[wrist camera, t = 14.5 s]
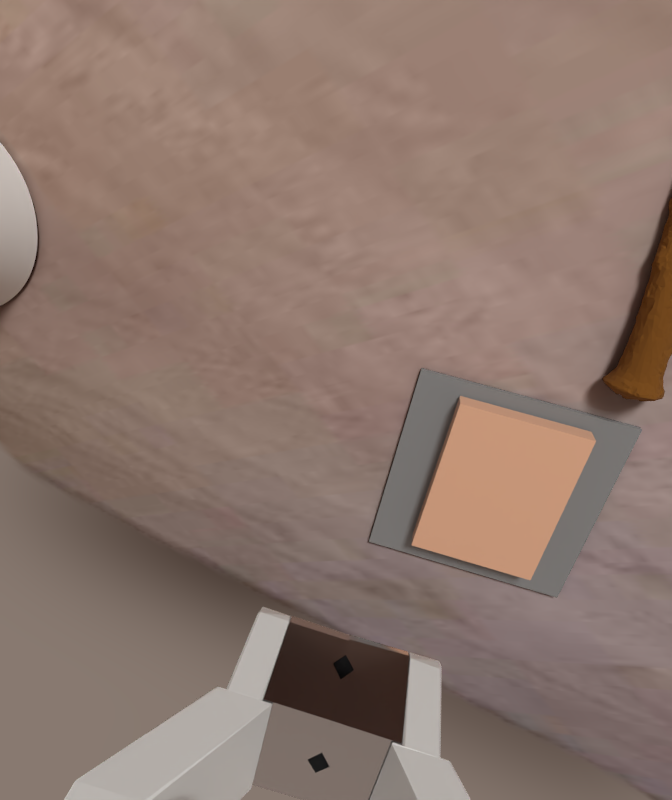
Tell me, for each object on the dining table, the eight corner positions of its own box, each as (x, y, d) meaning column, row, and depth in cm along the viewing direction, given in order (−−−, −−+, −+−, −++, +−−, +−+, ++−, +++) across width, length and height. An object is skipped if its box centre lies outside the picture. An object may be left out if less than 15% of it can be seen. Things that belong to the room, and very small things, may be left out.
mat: (369, 538, 46) (368, 541, 46) (421, 367, 40) (421, 369, 40) (556, 594, 45) (557, 597, 45) (640, 427, 39) (641, 429, 39)
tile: (411, 545, 43) (460, 403, 38) (412, 532, 45) (460, 394, 40) (530, 580, 43) (596, 441, 38) (528, 566, 44) (591, 430, 39)
